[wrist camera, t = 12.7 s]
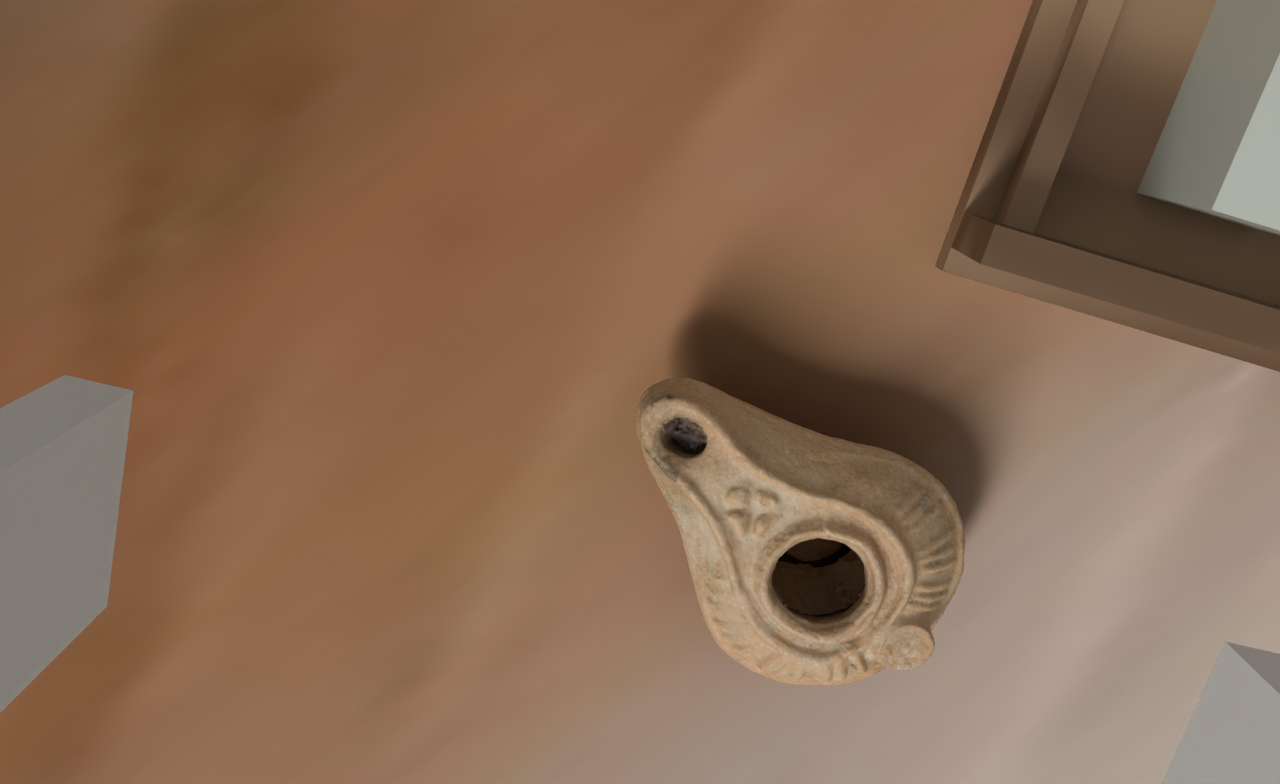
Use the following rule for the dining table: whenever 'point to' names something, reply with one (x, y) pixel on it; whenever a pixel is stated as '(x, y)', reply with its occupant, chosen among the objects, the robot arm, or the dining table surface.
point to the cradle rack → (1109, 186)
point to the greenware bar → (1226, 122)
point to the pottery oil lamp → (801, 537)
